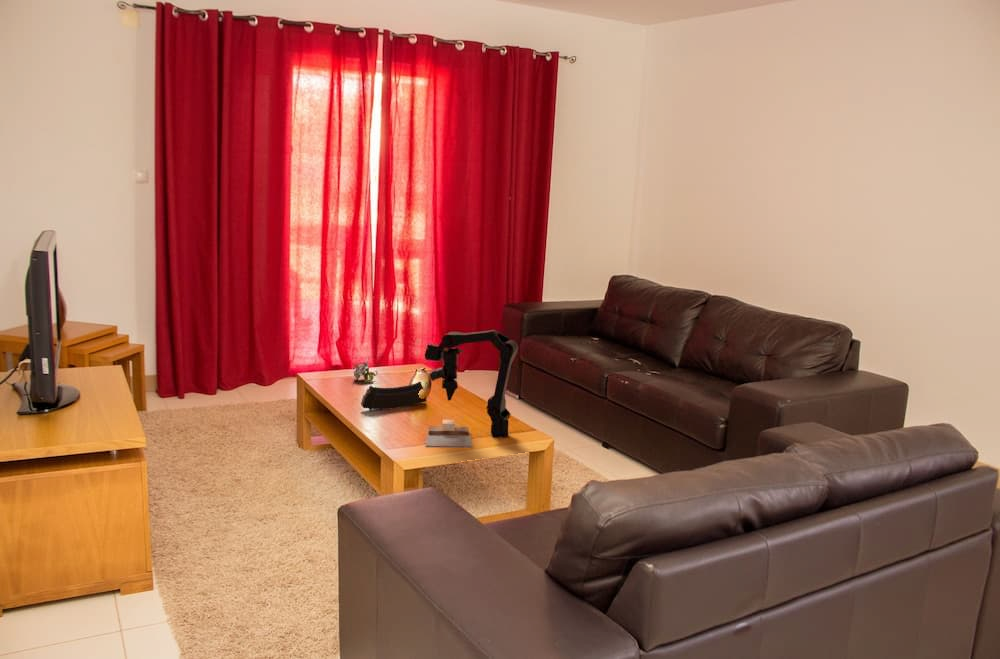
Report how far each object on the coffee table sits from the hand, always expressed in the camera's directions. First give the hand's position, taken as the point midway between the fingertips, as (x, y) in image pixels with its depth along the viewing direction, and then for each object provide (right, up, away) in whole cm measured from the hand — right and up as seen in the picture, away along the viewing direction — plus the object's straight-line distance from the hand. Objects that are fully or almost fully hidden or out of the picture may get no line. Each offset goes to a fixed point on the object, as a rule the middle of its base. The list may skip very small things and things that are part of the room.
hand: (449, 399), depth 339 cm
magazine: (-26, -6, +26) cm, 37 cm away
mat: (+1, -15, -15) cm, 21 cm away
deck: (0, -13, -5) cm, 14 cm away
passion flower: (-46, +3, +67) cm, 81 cm away
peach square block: (0, -11, -6) cm, 13 cm away
